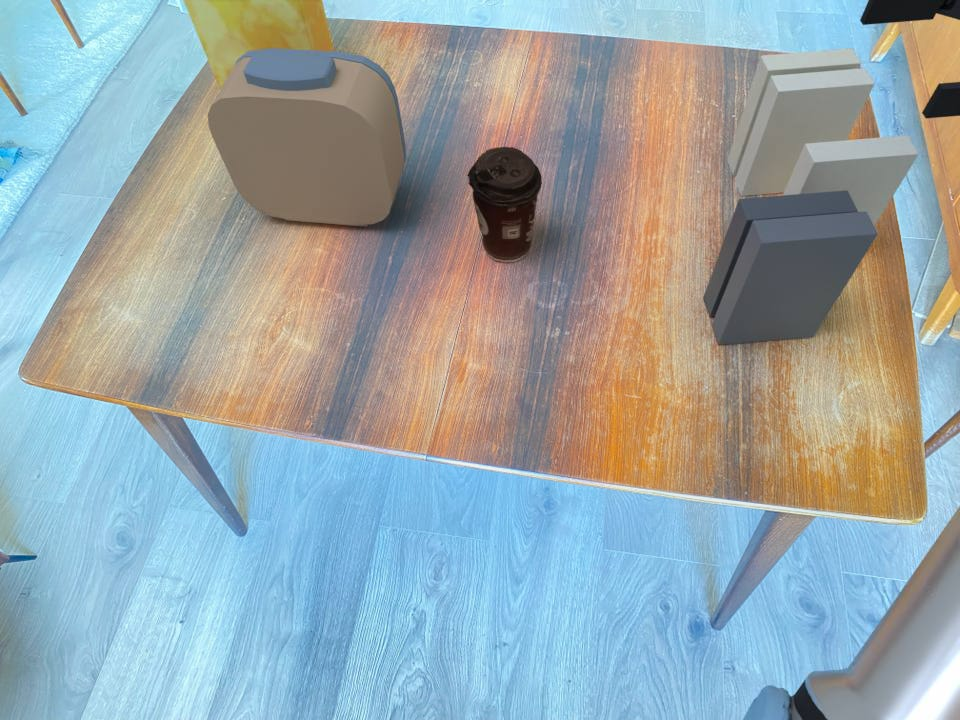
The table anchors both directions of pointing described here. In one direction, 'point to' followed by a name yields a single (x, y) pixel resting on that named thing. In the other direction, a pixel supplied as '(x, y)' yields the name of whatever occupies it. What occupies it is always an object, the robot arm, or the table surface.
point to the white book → (855, 170)
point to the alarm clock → (311, 135)
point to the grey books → (785, 265)
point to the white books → (795, 114)
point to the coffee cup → (505, 201)
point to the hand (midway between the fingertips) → (897, 51)
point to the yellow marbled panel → (256, 28)
